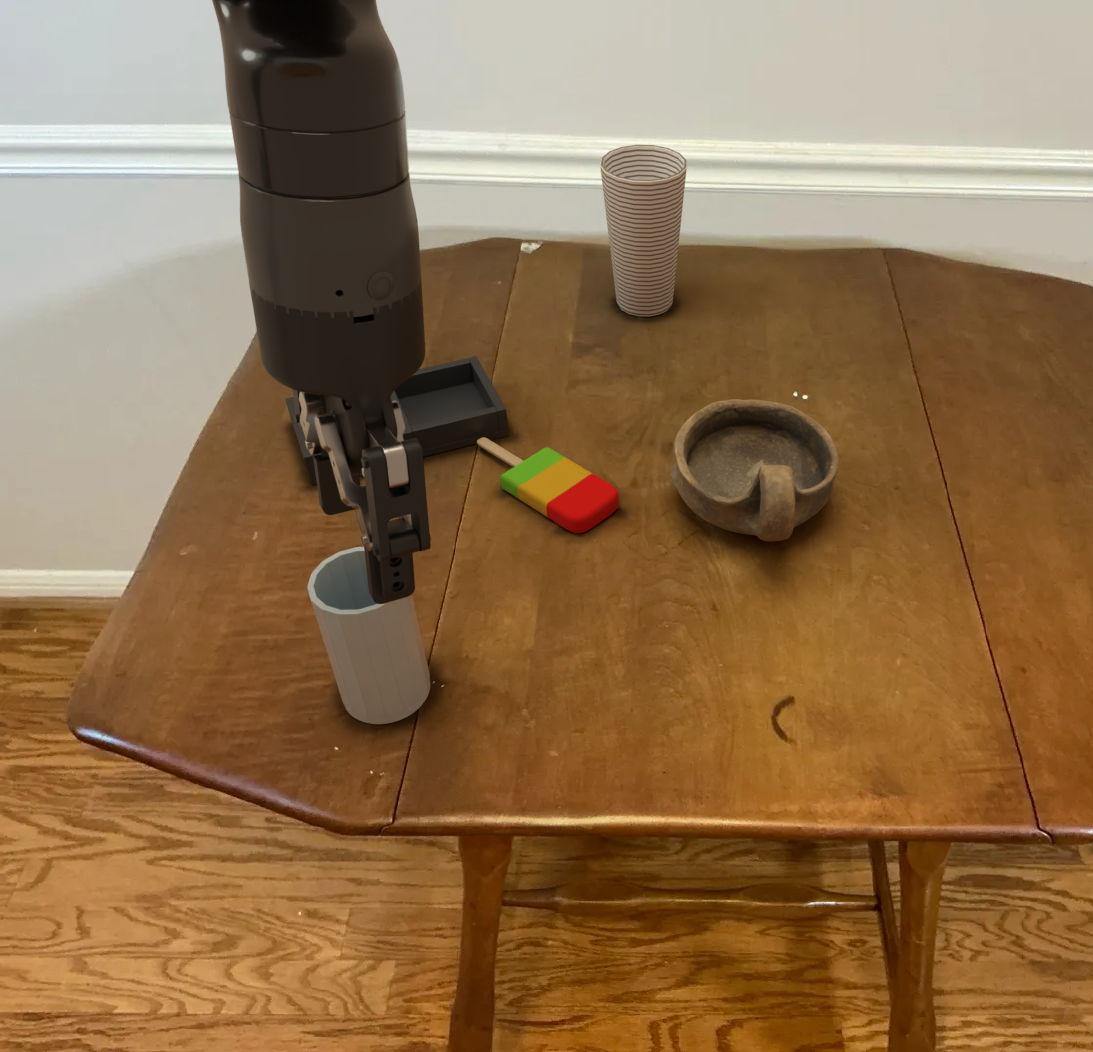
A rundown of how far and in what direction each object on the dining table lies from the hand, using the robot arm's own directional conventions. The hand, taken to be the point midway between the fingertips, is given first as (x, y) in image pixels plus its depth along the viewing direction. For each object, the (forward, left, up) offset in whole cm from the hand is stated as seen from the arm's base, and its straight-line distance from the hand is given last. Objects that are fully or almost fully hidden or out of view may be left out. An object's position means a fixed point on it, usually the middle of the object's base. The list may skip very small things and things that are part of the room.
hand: (366, 551), depth 58 cm
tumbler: (-1, +6, -19) cm, 20 cm away
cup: (+36, +47, -19) cm, 63 cm away
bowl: (+31, +12, -19) cm, 39 cm away
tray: (+7, +35, -19) cm, 41 cm away
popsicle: (+16, +23, -19) cm, 34 cm away
